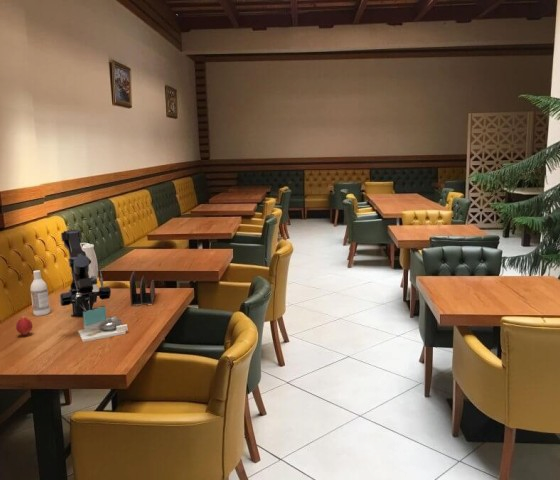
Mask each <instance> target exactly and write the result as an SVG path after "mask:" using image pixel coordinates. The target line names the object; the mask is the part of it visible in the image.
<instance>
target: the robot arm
mask: <svg viewBox="0 0 560 480" xmlns="http://www.w3.org/2000/svg"><path fill="white" fill-rule="evenodd" d="M60 237H61V238H60V239H61V242H63V247H65V249H66V250H67V251H68V256H69V258H68V267H69V268H70V270H71V277H72V281H71V284H70V286H69V287H70V288H69V290H68V291H67V292H62V293H61V294H60V295H59V296H60V297H59V299H60V300H59V302H60V306H62V307H64V306H65V307H66V306H70V305H71V308H72V314H71V315H70V316H71V317H76V318H77V317H78V318H79V317H82V318H83V311H87V310H91V309H93V306H94V304H95V303H97V300H98V298H99V299H100V300H108V299H110V298H111V294H112V293H111V292H112V290H111V287H110V286H109V285H108V286H103V287H101V286H100V287H98V289H99V291H95V292H93V291H92V290H93V285H95V284H97V285H98V277H97V278H96V276H91V278H89V274H88V271H89V265H90V263H91V260H90V259H89V258H88V257H87V256H86V253H85V252H84V251H83V250H82V248H81V245H82V244H81V243H82V242H81V241H82V240H83V234H82V231H81V230H78V229H69V230H64V231H63V232H61V234H60ZM80 244H81V245H80ZM97 296H99V297H97Z"/></svg>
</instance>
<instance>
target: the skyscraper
mask: <svg viewBox="0 0 560 480" xmlns="http://www.w3.org/2000/svg"><path fill="white" fill-rule="evenodd" d="M80 245H81V249H82V250H83V251H84V252H85V253H86V256H87V257H88V258H89V259H90V260H91V263H90V265H89V271H88V274H89V278H91V276H96V278H97V279H98V273H99V272H100V273H99V277H100V279H99V282H100V287H104V278H103V275H102V270H100V271H99V268H98V267H99V265H98V259H97V255H96V252H95V249H94V248H95V247H94V246H95V245H94V244H92V243H91V244H90V243H88V242H80ZM92 291H93V292H95V291H99V286H98V283H97V284H95V285H93V290H92Z"/></svg>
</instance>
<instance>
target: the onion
mask: <svg viewBox="0 0 560 480" xmlns="http://www.w3.org/2000/svg"><path fill="white" fill-rule="evenodd" d="M15 327H16V331H17V332H18V333H19V334H20V335H23V336H27V335H28V334H29V333H30V332H31V331H32V330H33V322H32V321H31V320H30V319H29V318H27V317H26V316H25V315H23V316H22V317H21V318H20V319H19V320H18V321H17V323H16V325H15Z"/></svg>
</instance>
